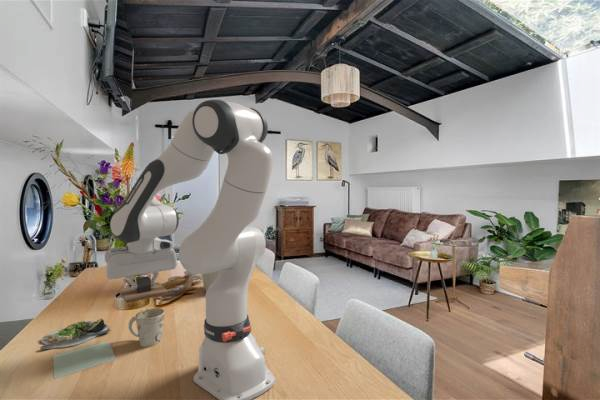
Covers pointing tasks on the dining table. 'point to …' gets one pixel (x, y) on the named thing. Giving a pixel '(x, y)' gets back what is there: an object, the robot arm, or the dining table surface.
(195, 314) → the dining table surface
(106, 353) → the green mat
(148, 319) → the mug
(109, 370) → the dining table surface
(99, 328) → the salad plate
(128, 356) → the dining table surface
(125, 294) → the walnut lid
